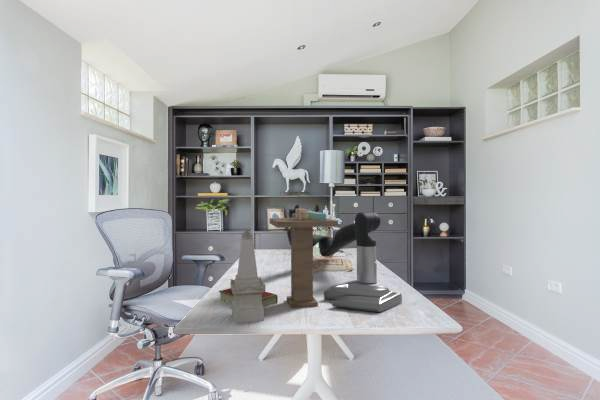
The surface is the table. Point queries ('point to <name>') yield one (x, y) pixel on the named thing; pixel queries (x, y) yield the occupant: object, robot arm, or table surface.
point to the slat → (316, 215)
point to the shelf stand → (301, 255)
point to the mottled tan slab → (332, 264)
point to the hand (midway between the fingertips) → (307, 206)
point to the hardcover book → (266, 297)
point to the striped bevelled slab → (362, 297)
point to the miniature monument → (247, 285)
